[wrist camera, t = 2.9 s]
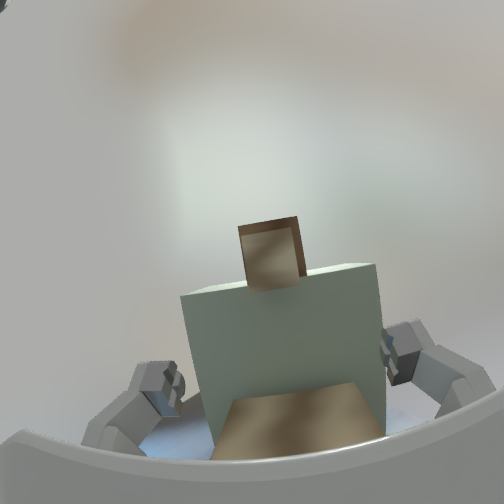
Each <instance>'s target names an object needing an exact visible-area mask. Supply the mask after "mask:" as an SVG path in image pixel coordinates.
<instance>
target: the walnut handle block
mask: <svg viewBox="0 0 504 504" xmlns="http://www.w3.org/2000/svg"><path fill="white" fill-rule="evenodd" d="M238 231H239V237H240V243H241V249H242V255H243V261H244V268H245V273H246V280H247V286H249V289H250V293H256V292H263V291H269V290H275V289H281V288H287V287H293V286H299V285H301V284H300V278H299V277H303V276H307V270H306V264H305V258H304V252H303V247H302V241H301V235H300V230H299V224H298V219H297V216H294V217H288V218H282V219H276V220H270V221H265V222H259V223H253V224H248V225H243V226H238Z"/></svg>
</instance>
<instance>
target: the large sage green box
mask: <svg viewBox="0 0 504 504" xmlns="http://www.w3.org/2000/svg"><path fill="white" fill-rule="evenodd" d="M299 278H300V284H301V285H299V286H293V287H287V288H281V289H275V290H269V291H263V292H256V293H250V289H249V286H247V281H241V282H235V283H228V284H222V285H216V286H209V287H206V288H202V289H200V290H196V291H193V292H190V293H187V294H184V295H182V296H180V298H181V304H182V310H183V315H184V320H185V325H186V330H187V335H188V340H189V345H190V349H191V354H192V359H193V364H194V368H195V372H196V377H197V381H198V385H199V389H200V393H201V397H202V401H203V405H204V409H205V413H206V417H207V421H208V424H209V428H210V431H211V435H212V439H213V442H214V445H215V446H216V443H217V441H218V438H219V436H220V433H221V431H222V428H223V425H224V423H225V420H226V418H227V415H228V412H229V410H230V407H231V404H232V402H233V399H244V398H255V397H264V396H273V395H281V394H288V393H295V392H301V391H307V390H313V389H319V388H324V387H330V386H335V385H340V384H344V383H349V382H355V384H356V386H357V387H358V389H359V391H360V392H361V394H362V396H363V398H364V399H365V401H366V403H367V405H368V406H369V408H370V410H371V412H372V413H373V415H374V417H375V419H376V420H377V422H378V424H379V426H380V427H381V429H382V431H383V433H384V434H385V436H386V371H385V366H384V365H383V363H382V360H381V357H380V342H381V341H382V340H383V338H382V336H381V331H382V328H383V324H382V314H381V304H380V295H379V288H378V279H377V272H376V265H375V264H373V263H346V264H341V265H335V266H330V267H324V268H319V269H313V270H307V276H303V277H299Z"/></svg>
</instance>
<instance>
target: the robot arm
mask: <svg viewBox="0 0 504 504" xmlns="http://www.w3.org/2000/svg"><path fill="white" fill-rule="evenodd" d="M10 1H12V0H0V13H1V12H2V11H3V10H4V9H5V8H6V7H7V5H8V4H9V3H10ZM381 336H382V338H383V340H382V341H381V342H380V357H381V360H382V363H383V365H384V366H385V367H387V368H388V370H387V376H388V378H389V381H390V383H391V386H396V385H399V384H403V383H406V382H410V381H411V382H412V383H413V384H415V385H416V386H417V387H418V388H420V389H421V390H422V391H424V392H425V393H426V394H428V395H429V396H430V397H431V398H433V399H434V400H435V401H437V402H438V403H439V404H441V407H440V409H439V411H438V413H437V415H436V416H435V419H434V420H431V421H429V422H426V423H423V424H421V425H418V426H415V427H412V428H409V429H406V430H403V431H400V432H397V433H394V434H391V435H387V436H384V437H380V438H377V439H373V440H369V441H365V442H361V443H357V444H353V445H349V446H344V447H339V448H334V449H329V450H324V451H318V452H312V453H306V454H299V455H291V456H283V457H273V458H262V459H246V460H182V459H167V458H156V457H147V455H146V454H145V453H144V452H143V451H142V450H141V449H140V448H138V446H139V445H140V444H141V442H142V441H143V440H144V439H145V438H146V436H147V435H148V434H149V433H150V431H151V430H152V429H153V428H154V427H155V425H156V424H157V423H158V422H159V420H160V419H161V418H162V417H161V416H180V414H181V409H182V404H183V403H182V401H181V400H180V399H181V398H182V396H184V394H185V380H184V377H183V376H182V374H181V373H180V372H178V371H177V370H176V369H177V365H176V364H175V362H174V361H146V362H145V361H143V362H142V361H141V362H139V363H138V364H137V367H136V369H135V372H134V374H133V377H132V380H131V382H130V385H129V388H128V391H124V392H123V393H122V394H121V395H120V396H118V397H117V398H116V399H115V400H114V401H113V402H112V403H110V404H109V405H108V406H107V407H106V408H105V409H104V410H103V411H101V412H100V413H99V414H98V415H97V416H95V418H93V419H92V420H91V421H90V422H89V423H88V426H87V429H86V432H85V434H84V437H83V440H82V442H81V445H78V444H74V443H70V442H66V441H63V440H59V439H55V438H52V437H49V436H46V435H42V434H39V433H36V432H34V431H31V430H27V429H23V430H20V431H18V432H17V433H15V434H14V435H12V436H11V437H10V438H8V439H7V440H6V441H4V442H3V443H2V444H1V445H0V504H504V386H503V387H501V388H500V389H498V390H496V389H495V387H494V385H493V383H492V382H491V380H490V378H489V376H488V375H487V373H486V371H485V370H484V368H483V367H481V366H479V365H477V364H476V363H474V362H472V361H470V360H468V359H466V358H464V357H462V356H460V355H458V354H456V353H454V352H452V351H450V350H448V349H446V348H444V347H442V346H441V345H435V344H434V342H433V340H432V339H431V337H430V336H429V334H428V332H427V331H426V329H425V327H424V326H423V324H422V323H421V321H420V319H418V318H416V319H412V320H409V321H406V322H402V323H398V324H395V325H391V326H387V327H383V328H382V331H381Z"/></svg>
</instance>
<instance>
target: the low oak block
mask: <svg viewBox="0 0 504 504" xmlns="http://www.w3.org/2000/svg"><path fill="white" fill-rule="evenodd" d="M384 436H385V434H384V433H383V431H382V429H381V427H380V426H379V424H378V422H377V420H376V419H375V417H374V415H373V413H372V412H371V410H370V408H369V406H368V405H367V403H366V401H365V399H364V398H363V396H362V394H361V392H360V391H359V389H358V387H357V386H356V384H355V382H349V383H344V384H340V385H335V386H330V387H324V388H319V389H313V390H307V391H301V392H295V393H288V394H281V395H273V396H264V397H255V398H244V399H233V402H232V404H231V407H230V410H229V412H228V415H227V418H226V420H225V423H224V425H223V428H222V431H221V433H220V436H219V438H218V441H217V443H216V446H215V448H214V451H213V453H212V456H211V458H210V460H246V459H262V458H273V457H283V456H291V455H299V454H306V453H312V452H318V451H324V450H329V449H334V448H339V447H344V446H349V445H353V444H357V443H361V442H365V441H369V440H373V439H377V438H380V437H384Z"/></svg>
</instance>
